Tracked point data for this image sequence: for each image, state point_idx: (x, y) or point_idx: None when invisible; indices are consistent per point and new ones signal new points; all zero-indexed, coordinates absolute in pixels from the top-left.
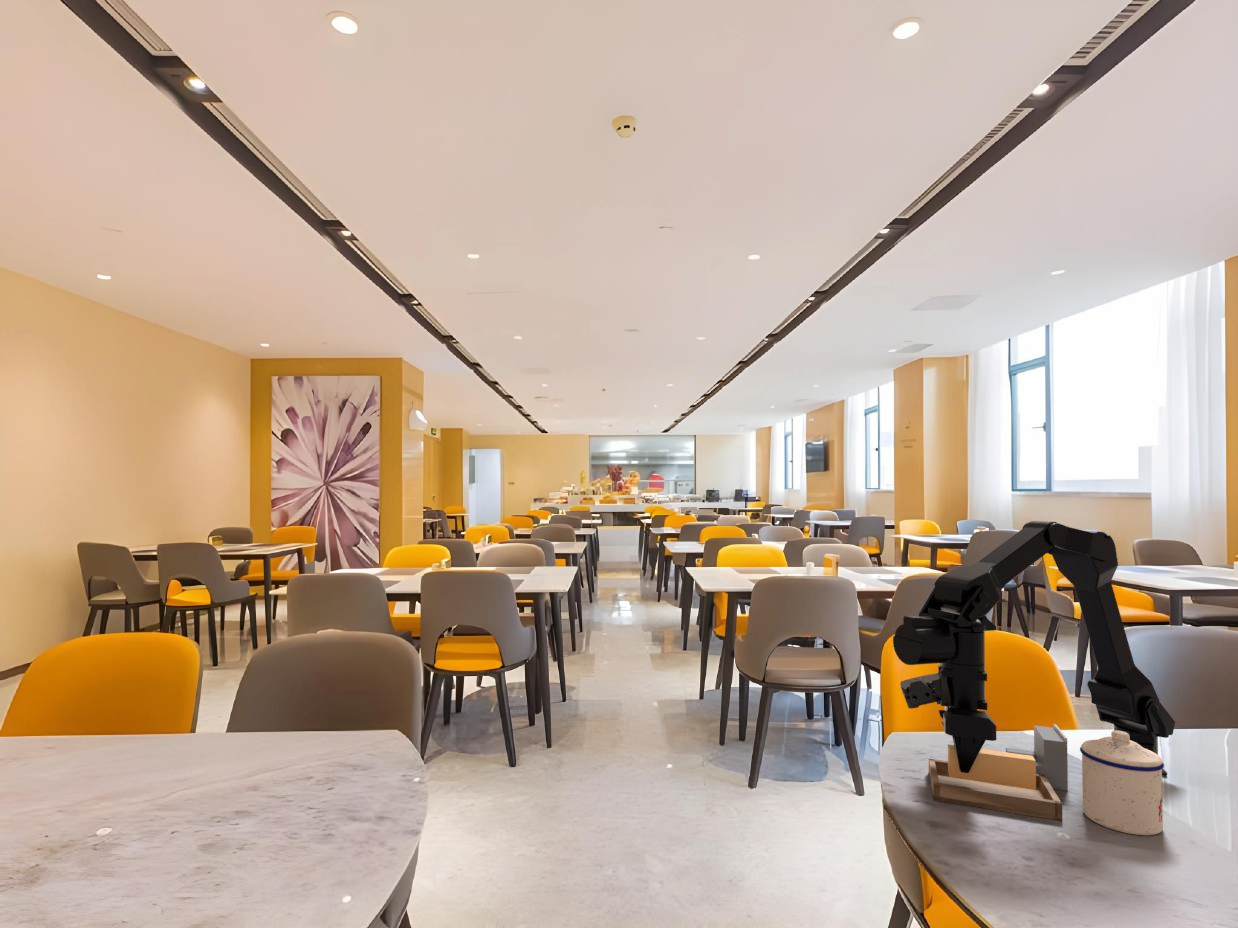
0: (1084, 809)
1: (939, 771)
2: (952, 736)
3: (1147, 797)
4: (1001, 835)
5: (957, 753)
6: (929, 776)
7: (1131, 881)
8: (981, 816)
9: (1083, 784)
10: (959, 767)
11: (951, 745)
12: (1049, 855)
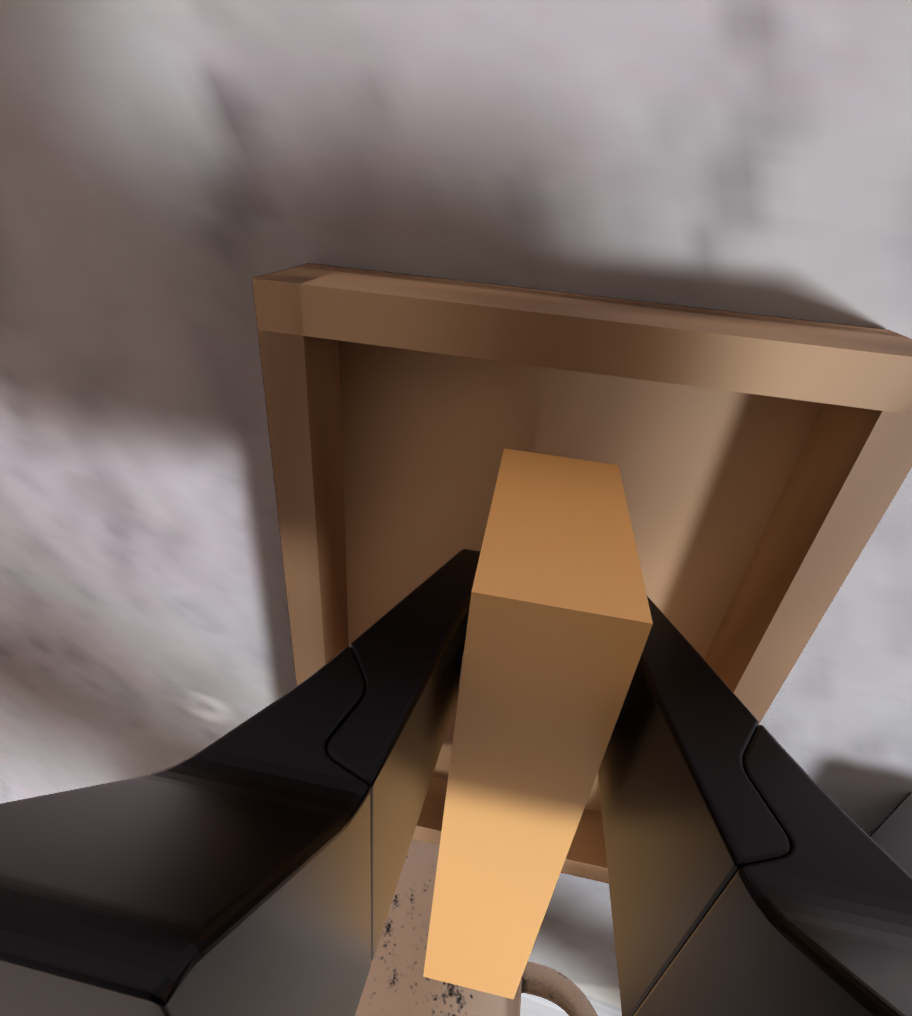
0: (415, 844)
1: (819, 417)
2: (731, 761)
3: None
4: (57, 514)
5: (371, 628)
6: (772, 317)
7: (8, 734)
8: (213, 490)
9: (397, 955)
10: (458, 559)
11: (623, 649)
12: (9, 614)
